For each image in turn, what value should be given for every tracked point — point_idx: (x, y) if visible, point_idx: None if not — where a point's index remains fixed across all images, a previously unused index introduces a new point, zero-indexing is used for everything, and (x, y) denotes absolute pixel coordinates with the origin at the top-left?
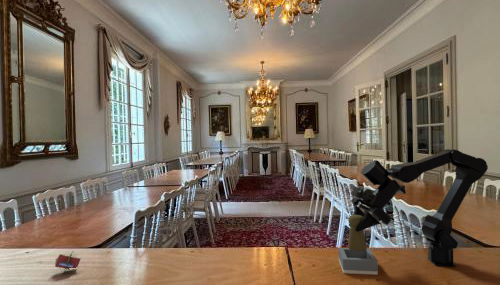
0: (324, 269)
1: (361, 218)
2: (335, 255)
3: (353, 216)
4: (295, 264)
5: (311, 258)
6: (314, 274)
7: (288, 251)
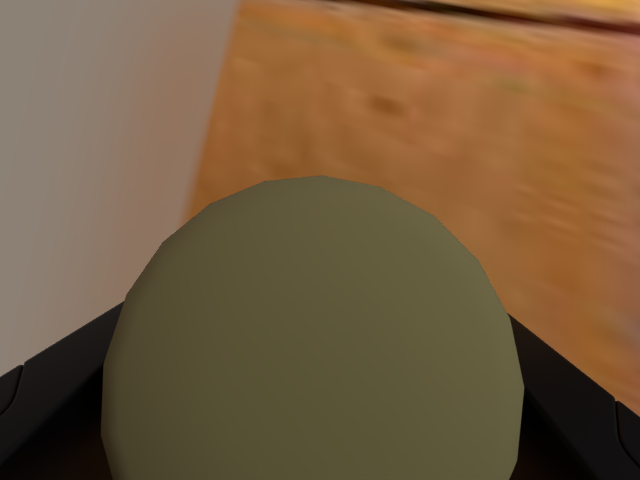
0: (326, 141)
1: (110, 456)
2: (513, 269)
3: (247, 252)
4: (407, 28)
5: (477, 121)
6: (280, 80)
7: (592, 31)
